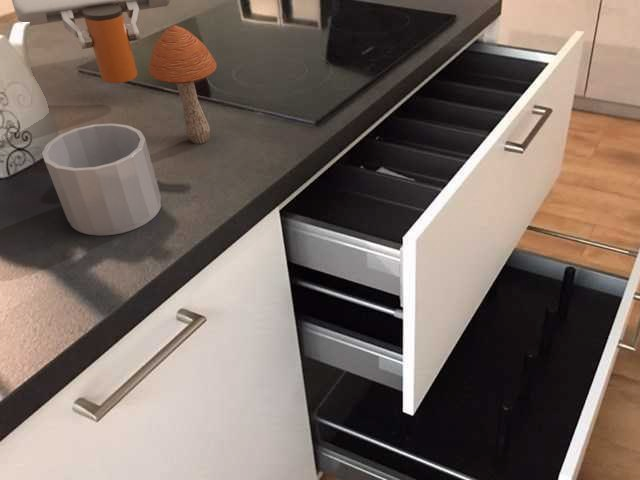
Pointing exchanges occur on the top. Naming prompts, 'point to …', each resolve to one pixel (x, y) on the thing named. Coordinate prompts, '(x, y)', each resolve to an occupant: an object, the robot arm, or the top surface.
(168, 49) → the mushroom
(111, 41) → the tube
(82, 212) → the faceted grey planter pot
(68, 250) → the top surface
